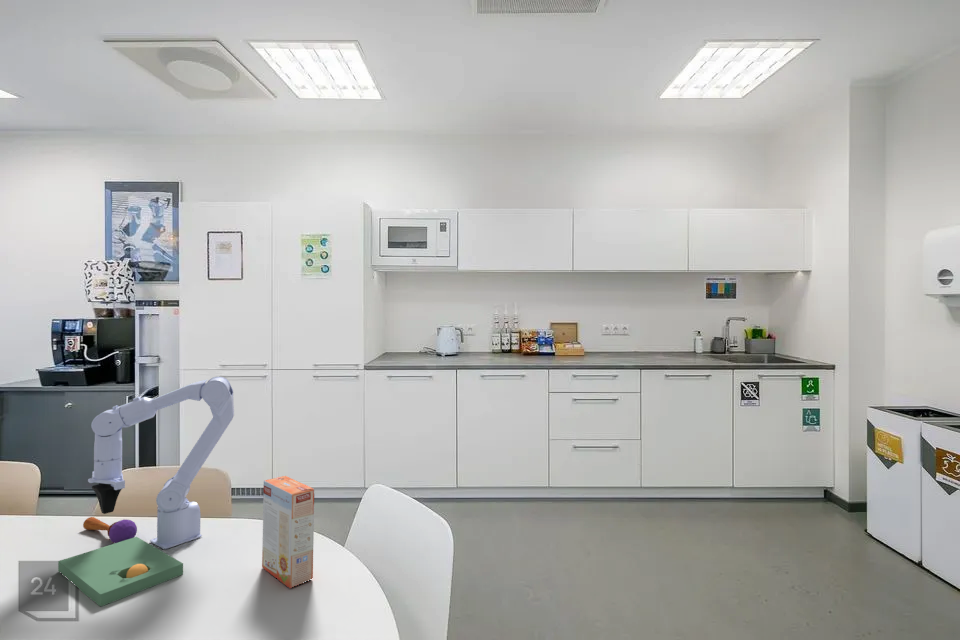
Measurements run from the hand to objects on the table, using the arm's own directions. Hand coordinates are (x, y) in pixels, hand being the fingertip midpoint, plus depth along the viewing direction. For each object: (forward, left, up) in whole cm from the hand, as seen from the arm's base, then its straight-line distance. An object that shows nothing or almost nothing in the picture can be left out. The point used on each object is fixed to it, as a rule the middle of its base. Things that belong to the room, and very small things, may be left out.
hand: (107, 512), depth 127 cm
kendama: (-3, -8, -10) cm, 13 cm away
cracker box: (-19, +47, -10) cm, 52 cm away
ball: (+3, +24, -7) cm, 25 cm away
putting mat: (+3, +16, -9) cm, 19 cm away
